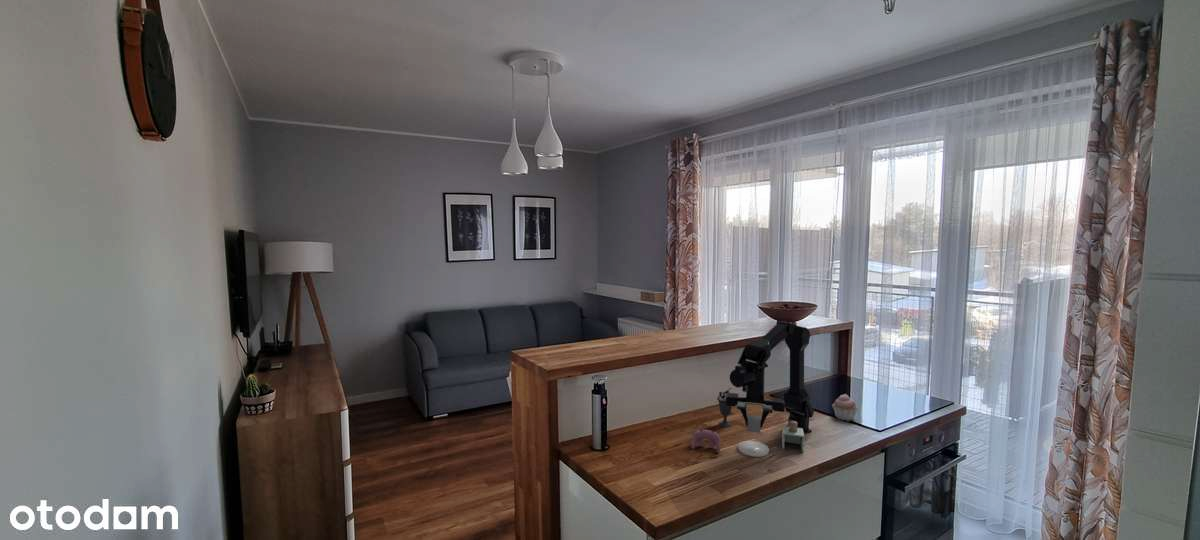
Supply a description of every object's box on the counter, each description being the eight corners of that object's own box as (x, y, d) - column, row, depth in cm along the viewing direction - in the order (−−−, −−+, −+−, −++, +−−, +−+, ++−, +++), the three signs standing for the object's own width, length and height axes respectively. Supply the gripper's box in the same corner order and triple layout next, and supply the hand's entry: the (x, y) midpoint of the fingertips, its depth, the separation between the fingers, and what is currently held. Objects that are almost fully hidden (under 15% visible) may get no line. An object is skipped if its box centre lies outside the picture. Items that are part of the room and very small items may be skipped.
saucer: (758, 442, 166) (758, 439, 166) (774, 455, 156) (775, 452, 156) (732, 445, 164) (732, 442, 164) (747, 458, 154) (747, 455, 154)
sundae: (734, 428, 178) (735, 389, 177) (716, 427, 179) (717, 388, 178) (733, 422, 184) (734, 384, 183) (715, 420, 186) (716, 383, 185)
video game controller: (720, 453, 161) (721, 432, 163) (720, 452, 157) (721, 430, 159) (691, 449, 164) (693, 428, 166) (690, 448, 160) (691, 427, 162)
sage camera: (802, 443, 165) (802, 420, 165) (803, 451, 159) (804, 427, 158) (781, 440, 167) (782, 417, 167) (782, 448, 161) (783, 424, 161)
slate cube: (760, 428, 161) (760, 416, 161) (760, 432, 157) (760, 421, 157) (748, 426, 162) (748, 415, 162) (747, 431, 158) (747, 419, 158)
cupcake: (862, 419, 187) (863, 395, 187) (850, 424, 182) (851, 399, 181) (839, 412, 195) (840, 388, 194) (826, 417, 190) (827, 392, 189)
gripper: (784, 377, 163) (782, 421, 164) (728, 372, 169) (727, 414, 170) (785, 387, 152) (783, 434, 154) (725, 381, 159) (724, 426, 160)
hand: (754, 426), depth 160 cm, fingers closed on slate cube, 4 cm apart
